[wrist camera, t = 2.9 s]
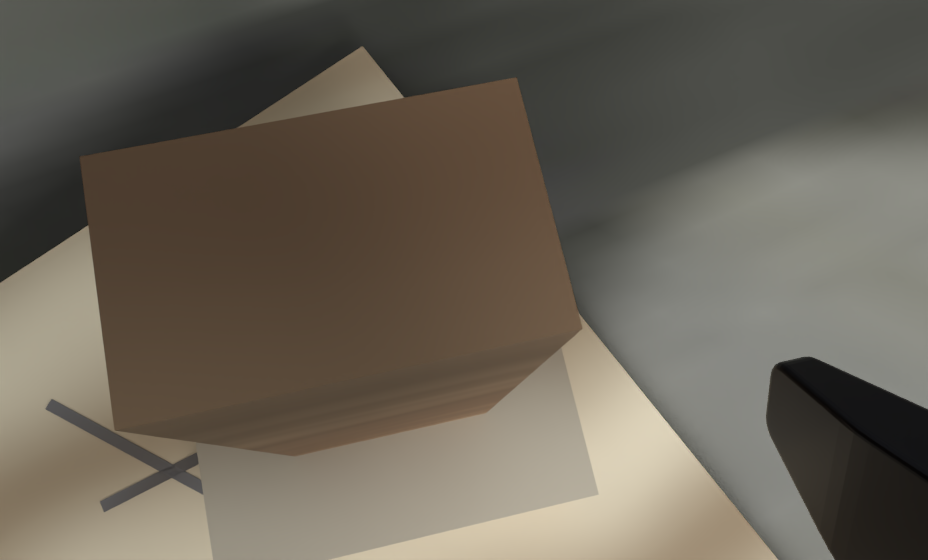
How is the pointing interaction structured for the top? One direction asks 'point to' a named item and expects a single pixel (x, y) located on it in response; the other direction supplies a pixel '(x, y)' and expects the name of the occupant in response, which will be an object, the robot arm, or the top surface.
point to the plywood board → (176, 461)
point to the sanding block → (344, 320)
